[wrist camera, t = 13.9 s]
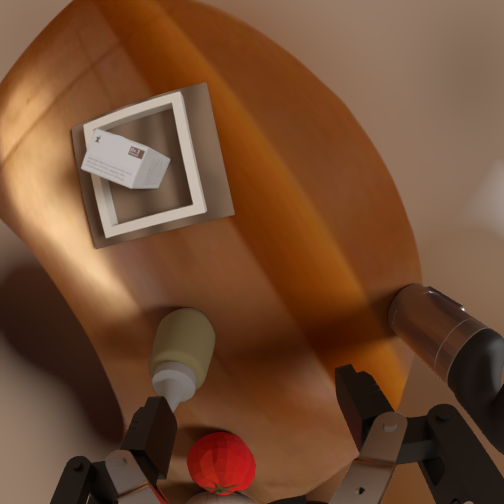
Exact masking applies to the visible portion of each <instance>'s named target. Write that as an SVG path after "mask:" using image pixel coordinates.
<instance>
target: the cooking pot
mask: <svg viewBox="0 0 504 504" xmlns="http://www.w3.org/2000/svg"><path fill="white" fill-rule="evenodd" d="M233 493H235V494H229V495H219V494H213V493H211V492H210V491H206V492H202V493H199V494H196V495H194V496H192V497H191V498H189V499H188V500H187V501H186V502H185V504H257V503H256V502H255V501H254V500H253V499H251V498H249V497H248V496H245V495H243V494H240V493H237V492H233ZM236 494H238V495H236Z"/></svg>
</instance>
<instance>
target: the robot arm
mask: <svg viewBox="0 0 504 504" xmlns="http://www.w3.org/2000/svg"><path fill="white" fill-rule="evenodd" d="M388 323H389V326H390V328H391V329H392V330H393V331H394V332H395V333H396V334H397V335H398V336H399V337H400V338H401V339H402V340H403V341H404V342H405V343H406V344H407V345H408V346H409V347H410V348H411V349H412V350H413V351H414V352H415V353H416V354H417V355H418V356H419V357H420V358H421V359H422V360H423V361H424V362H425V363H426V364H427V365H428V366H429V367H430V368H431V369H432V370H433V371H434V372H435V374H436V375H437V376H439V378H440V379H441V380H442V381H443V382H444V383H445V384H446V385H447V386H448V387H449V388H450V389H451V390H452V391H453V392H454V394H455V397H456V399H457V400H458V402H459V403H460V404H461V406H462V407H463V408H464V409H465V410H466V411H467V413H468V414H469V415H470V417H471V418H472V419H473V421H474V422H475V423H476V425H477V426H478V427H479V429H480V430H481V431H482V433H483V434H484V435H485V437H486V438H487V439H488V440H489V442H490V443H491V444H492V445H493V446H494V447H495V448H496V449H497V450H498V451H499V452H500V453H502V454H503V455H504V384H503V386H502V387H501V375H502V369H503V365H504V339H503V337H502V336H501V335H500V334H498V333H497V332H495V331H494V330H492V329H491V328H489V327H488V326H486V325H485V324H483V323H482V322H480V321H479V320H477V319H476V318H474V317H473V316H471V315H469V314H468V313H466V312H465V311H464V307H463V305H461V304H459V303H458V302H456V301H454V300H453V299H451V298H449V297H448V296H446V295H444V294H443V293H441V292H439V291H438V290H436V289H434V288H433V287H431V286H429V287H425V286H423V285H421V284H412V285H408V286H407V287H405V288H403V289H402V290H401V291H400V292H399V293H398V294H397V295H396V296H395V298H394V299H393V301H392V303H391V305H390V307H389V311H388ZM335 384H336V396H337V400H338V404H339V406H340V408H341V411H342V413H343V415H344V418H345V420H346V422H347V425H348V427H349V430H350V432H351V434H352V437H353V439H354V441H355V444H356V446H357V449H358V451H359V453H360V454H359V456H358V457H357V459H354V460H353V461H352V463H351V465H350V467H349V469H348V471H347V473H346V474H345V476H344V478H343V480H342V482H341V484H340V485H339V487H338V489H337V491H336V492H335V494H334V496H333V498H332V499H331V501H330V502H329V503H326V502H321V501H307V500H306V495H302V496H297V497H292V498H286V499H280V500H276V501H274V502H271V503H268V504H381V502H382V500H383V497H384V495H385V493H386V490H387V488H388V485H389V483H390V480H391V478H392V475H393V473H394V470H395V468H396V465H398V464H405V463H412V462H418V465H419V467H420V469H421V471H422V473H423V475H424V478H425V479H426V482H427V484H428V486H429V489H430V491H431V493H432V495H433V498H434V500H435V502H436V504H504V478H503V477H502V475H501V473H500V472H499V470H498V469H497V467H496V466H495V464H494V462H493V461H492V460H491V458H490V456H489V455H488V453H487V452H486V450H485V449H484V447H483V446H482V444H481V443H480V441H479V440H478V439H477V437H476V436H475V434H474V433H473V431H472V430H471V429H470V427H469V426H468V424H467V423H466V421H465V420H464V419H463V417H462V416H461V415H460V413H459V412H458V410H457V409H456V408H455V407H454V406H452V405H449V404H439V405H436V406H434V407H433V408H432V409H430V410H429V412H428V414H427V415H426V416H420V417H412V418H408V417H405V416H404V415H402V414H401V413H398V412H395V411H394V410H393V408H392V407H391V405H390V403H389V402H388V400H387V399H386V397H385V396H384V394H383V392H382V391H381V390H380V388H379V386H378V385H377V383H376V381H375V380H374V378H373V377H372V376H371V375H370V374H368V373H366V372H365V371H362V372H359V373H356V371H355V370H354V368H353V366H352V365H351V364H348V365H345V366H341V367H338V368H335ZM176 431H177V421H176V418H175V416H174V414H173V412H172V410H171V408H170V406H169V404H168V402H167V400H166V398H165V397H164V396H157V397H148V399H147V401H146V404H145V406H144V407H140V408H139V409H138V410H137V412H136V413H135V414H134V416H133V418H132V421H131V423H130V425H129V429H128V430H127V433H126V435H125V438H124V440H123V443H122V446H121V448H120V450H117V451H114V452H112V453H111V454H110V455H109V456H108V457H107V459H106V461H101V462H94V463H91V462H90V461H89V460H88V459H87V458H86V457H84V456H76V457H73V458H72V459H70V460H69V461H68V462H67V464H66V466H65V468H64V471H63V473H62V475H61V478H60V480H59V483H58V485H57V488H56V490H55V493H54V495H53V497H52V500H51V502H50V504H86V502H87V498H88V495H90V497H89V500H88V503H87V504H118V503H119V504H170V503H169V501H168V500H167V499H166V497H165V496H164V495H163V493H162V492H161V490H160V489H159V487H158V486H157V485H156V483H157V479H165V480H166V477H167V473H168V468H169V463H170V459H171V454H172V449H173V445H174V440H175V436H176Z"/></svg>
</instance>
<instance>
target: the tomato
mask: <svg viewBox="0 0 504 504" xmlns="http://www.w3.org/2000/svg"><path fill="white" fill-rule="evenodd" d="M187 466H188V470H189V473H190V476H191V478H192V480H193V481H195V482H196V483H197V484H198V485H199V487H202V488H204V489H206V490H208V491H210V492H211V493H213V494H219V495H229V494H235V493H233V492H235V491H238V490H244V489H246V488H247V487H249V486H250V484H251V482H252V481H253V479H254V476H255V468H256V464H255V460H254V456H253V454H252V452H251V451H250V450H249V448H248V447H247V445H246V444H245V443H244V442H243V440H242V439H241V438H240V437H238V436H237V435H236V434H231V433H227V432H215V433H211V434H208V435H206V436H204V437H202V438H201V439H199V440H198V441H197V442H196V443H195V444H194V446H193V447H192V448H191V449H190V451H189V453H188V457H187ZM236 495H238V494H236Z"/></svg>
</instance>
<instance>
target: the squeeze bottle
mask: <svg viewBox="0 0 504 504" xmlns="http://www.w3.org/2000/svg"><path fill="white" fill-rule="evenodd" d="M215 336H216V335H215V333H214V330H213V327H212V325H211V324H210V322H209V321H208V319H207V318H206V317H205V315H204V314H203V313H202V312H200V311H198V310H196V309H194V308H188V307H185V308H181V309H178V310H175V311H173V312H171V313H169V314H168V315H167V316H165V317H164V318H163V319H161V322H160V324H159V326H158V328H157V331H156V335H155V339H154V344H153V348H152V352H151V357H150V361H149V373H150V375H151V376H152V387H153V389H154V390H155V392H156V393H157V394H158V395H159V396H164V397H165V398H166V400H167V402H168V404H169V406H170V408H171V410H172V412H173V413H174V411H175V409H176V407H177V406H178V404H179V402H184V401H187V400H189V399H190V398H192V396H193V395H194V393H195V390H197V389H198V388H200V387H201V386H202V384H203V383H204V381H205V379H206V375H207V371H208V368H209V364H210V361H211V357H212V353H213V350H214V346H215Z"/></svg>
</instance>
